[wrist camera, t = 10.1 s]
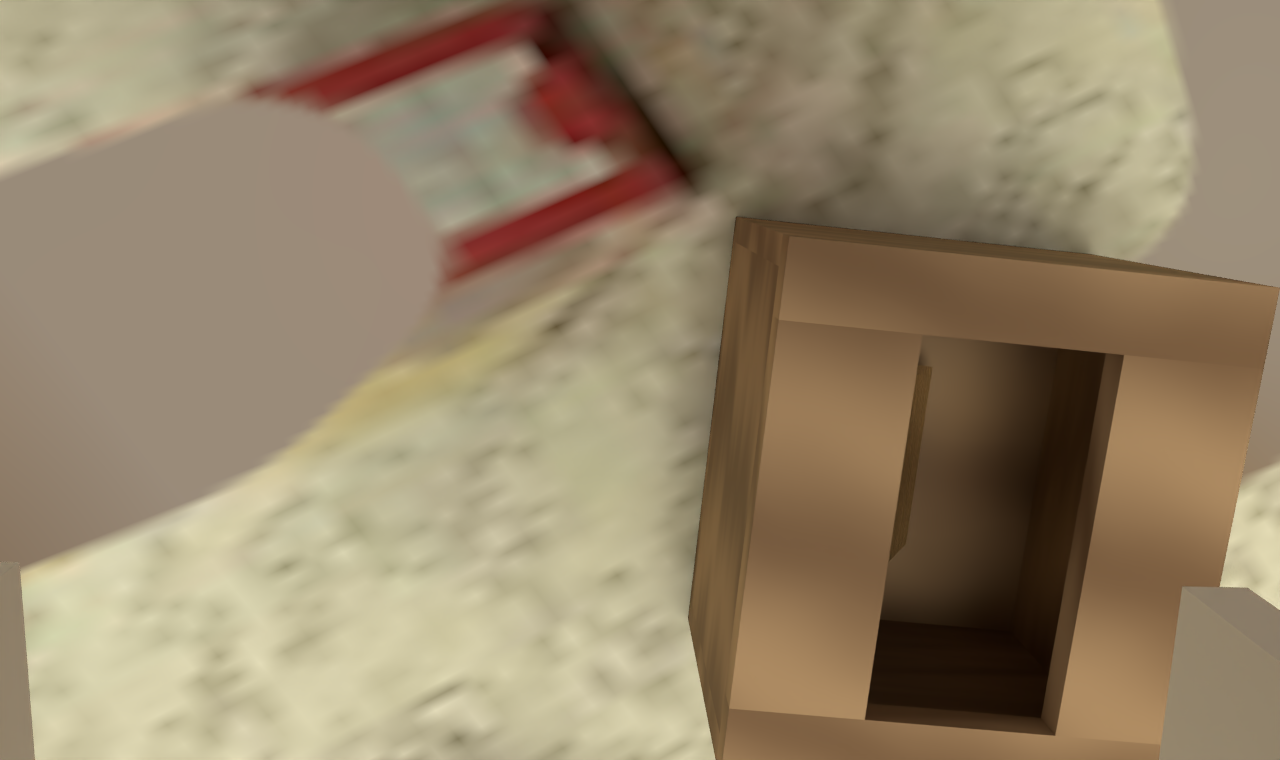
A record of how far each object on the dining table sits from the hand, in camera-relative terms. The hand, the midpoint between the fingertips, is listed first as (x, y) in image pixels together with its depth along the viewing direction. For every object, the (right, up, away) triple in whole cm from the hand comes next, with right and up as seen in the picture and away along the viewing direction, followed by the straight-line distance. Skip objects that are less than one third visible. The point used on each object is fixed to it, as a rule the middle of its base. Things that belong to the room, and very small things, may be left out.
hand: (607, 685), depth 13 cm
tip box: (+9, +1, +27) cm, 28 cm away
